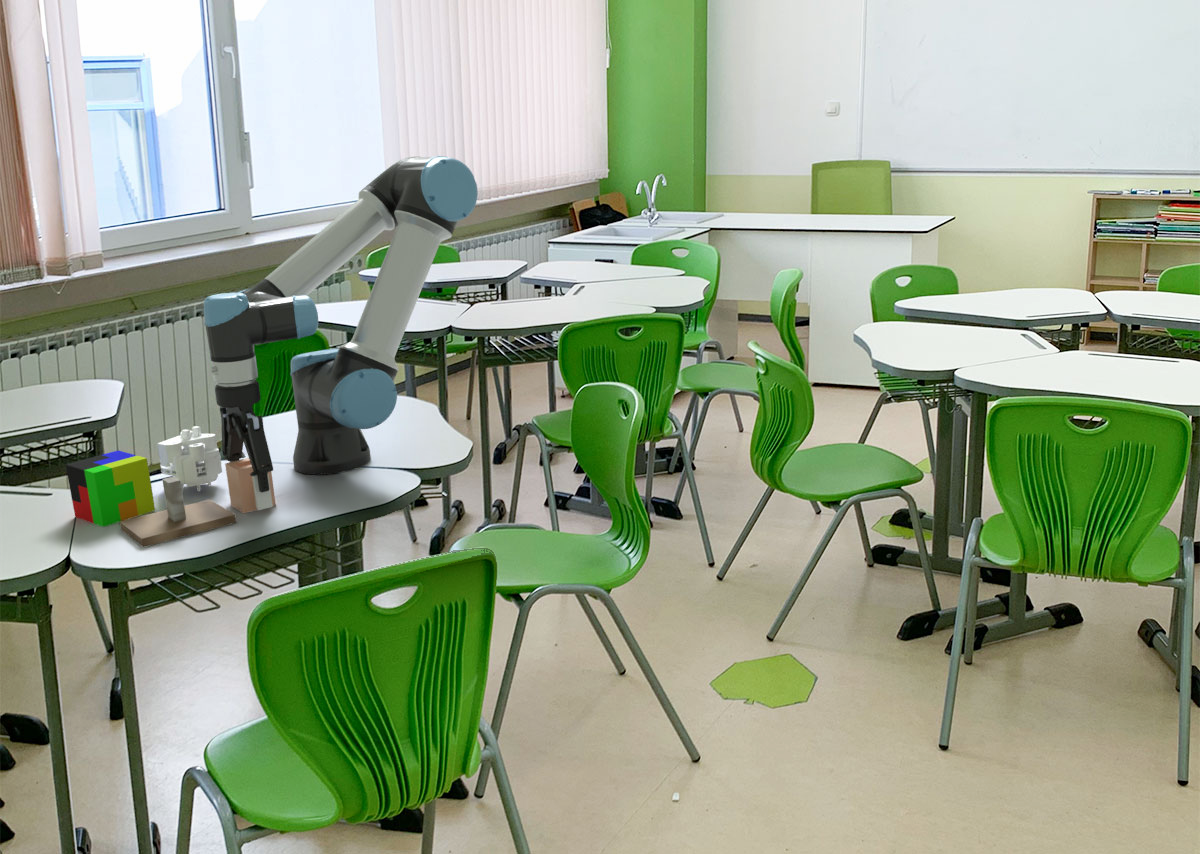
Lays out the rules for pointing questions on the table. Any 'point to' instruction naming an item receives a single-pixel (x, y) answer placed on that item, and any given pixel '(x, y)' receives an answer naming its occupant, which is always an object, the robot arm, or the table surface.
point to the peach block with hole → (243, 485)
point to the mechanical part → (191, 458)
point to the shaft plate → (180, 528)
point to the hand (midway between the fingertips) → (252, 501)
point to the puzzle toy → (110, 488)
